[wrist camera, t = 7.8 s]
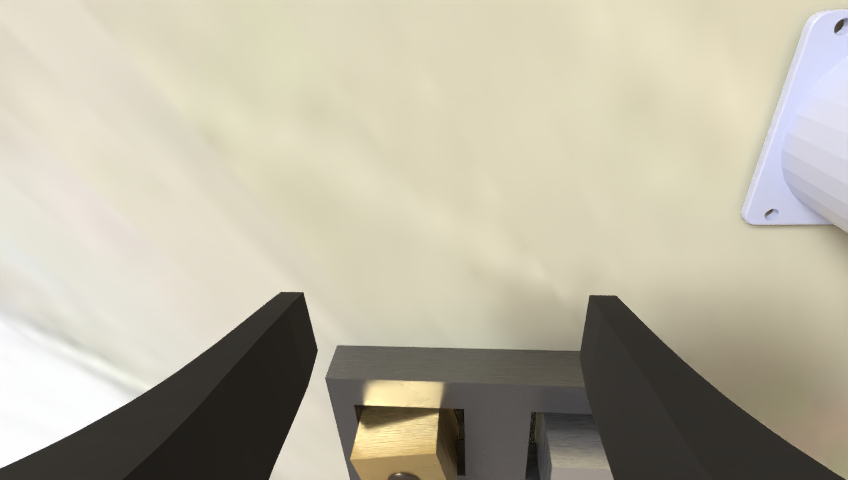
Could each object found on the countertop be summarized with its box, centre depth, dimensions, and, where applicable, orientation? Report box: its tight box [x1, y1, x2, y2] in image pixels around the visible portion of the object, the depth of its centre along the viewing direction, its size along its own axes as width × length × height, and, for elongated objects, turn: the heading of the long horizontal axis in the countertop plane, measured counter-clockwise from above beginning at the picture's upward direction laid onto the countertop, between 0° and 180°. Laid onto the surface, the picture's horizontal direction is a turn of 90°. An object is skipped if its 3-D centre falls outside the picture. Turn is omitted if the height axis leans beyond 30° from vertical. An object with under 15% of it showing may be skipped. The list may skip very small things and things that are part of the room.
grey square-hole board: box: [325, 346, 592, 480], centre depth 26 cm, size 18×10×2 cm, turn 93°
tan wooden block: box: [350, 405, 459, 480], centre depth 25 cm, size 4×4×5 cm
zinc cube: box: [534, 412, 614, 480], centre depth 24 cm, size 4×4×5 cm
